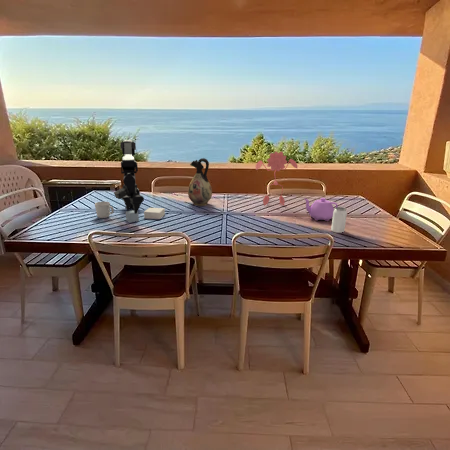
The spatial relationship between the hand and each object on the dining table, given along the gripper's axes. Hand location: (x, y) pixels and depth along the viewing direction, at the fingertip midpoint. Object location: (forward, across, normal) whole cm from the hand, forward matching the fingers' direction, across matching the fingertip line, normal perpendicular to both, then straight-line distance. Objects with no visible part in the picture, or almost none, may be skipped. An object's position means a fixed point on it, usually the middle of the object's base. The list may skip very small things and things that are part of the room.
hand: (131, 211), depth 187 cm
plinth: (+5, 0, +14) cm, 15 cm away
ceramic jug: (+5, -6, +50) cm, 51 cm away
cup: (+5, -14, -9) cm, 18 cm away
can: (+5, +79, +76) cm, 109 cm away
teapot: (+5, +60, +86) cm, 105 cm away
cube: (+5, 0, 0) cm, 5 cm away
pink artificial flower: (+5, +26, +85) cm, 89 cm away
